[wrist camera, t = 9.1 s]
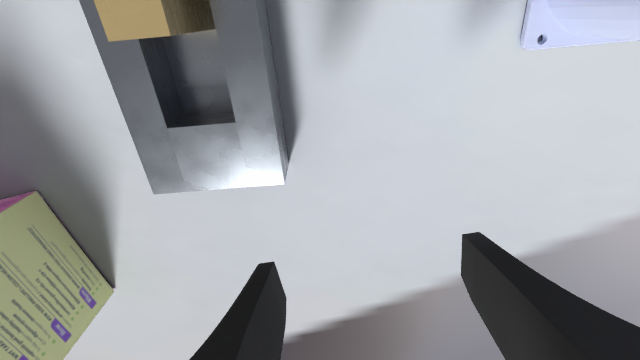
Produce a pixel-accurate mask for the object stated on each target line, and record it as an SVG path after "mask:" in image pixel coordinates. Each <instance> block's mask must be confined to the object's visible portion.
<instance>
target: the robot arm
mask: <svg viewBox="0 0 640 360" xmlns="http://www.w3.org/2000/svg"><path fill="white" fill-rule="evenodd" d="M540 35H542V36H543V39H542V41H541V42H540V43H537V39H538V37H539V36H540ZM634 40H637V41H640V0H528V3H527V8H526V13H525V19H524V24H523V29H522V34H521V39H520V45H521V47H522V48H523V49H527V50H535V49H546V48H557V47H568V46H579V45H590V44H601V43H612V42H623V41H634ZM461 276H462V279H463V281H464V283H465V286H466V288H467V291H468V293H469V295H470V297H471V300H472V302H473V304H474V305H475V307H476V309H477V311H478V313H479V314H480V316H481V318H482V319H483V321H484V323H485V325H486V327H487V328H488V330H489V332H490V334H491V335H492V337H493V339H494V340H495V342H496V344H497V346H498V347H499V349H500V351H501V353H502V354H503V356H504V358H505V360H640V327H637V326H635V325H633V324H631V323H629V322H627V321H624V320H622V319H620V318H618V317H616V316H614V315H612V314H610V313H608V312H606V311H604V310H602V309H600V308H598V307H596V306H594V305H592V304H590V303H589V302H587V301H585V300H583V299H581V298H579V297H577V296H576V295H574V294H572V293H570V292H568V291H567V290H565V289H563V288H562V287H560V286H558V285H557V284H555V283H553V282H552V281H550V280H548V279H547V278H545V277H544V276H542V275H540V274H539V273H537V272H536V271H534V270H533V269H531V268H530V267H528V266H527V265H525V264H524V263H522V262H521V261H519V260H518V259H516V258H515V257H514V256H512V255H511V254H509V253H508V252H506V251H505V250H504V249H502V248H501V247H499V246H498V245H497V244H495V243H494V242H492V241H491V240H490V239H488V238H487V237H486V236H484V235H483V234H481V233H480V232H476V233H469V234H462V261H461ZM285 324H286V296H285V293H284V290H283V287H282V284H281V281H280V278H279V275H278V272H277V269H276V266H275V263H274V262H268V263H261V264H259V265H258V266H257V267H256V269H255V271H254V272H253V274H252V275H251V277H250V279H249V280H248V282H247V283H246V285H245V287H244V288H243V290H242V291H241V293H240V294H239V296H238V297H237V299H236V300H235V302H234V303H233V305H232V306H231V308H230V309H229V311H228V312H227V313H226V315H225V316H224V317H223V319H222V320H221V322H220V323H219V324H218V326H217V327H216V328H215V330H214V331H213V332H212V334H211V335H210V336H209V337H208V339H207V340H206V341H205V342H204V343H203V345H202V346H201V347H200V348H199V349H198V351H197V352H196V353H195V354H194V355H193V356H192V357H191V359H190V360H280V358H281V351H282V345H283V338H284V331H285Z"/></svg>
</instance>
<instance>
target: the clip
mask: <svg viewBox="0 0 640 360" xmlns="http://www.w3.org/2000/svg"><path fill="white" fill-rule="evenodd" d="M94 3H95V5H96V8H97V11H98V14H99V16H100V19H101V22H102V25H103V27H104V30H105V33H106V36H107V38H108V41H109V42H110V41H121V40H132V39H143V38H154V37H164V36H173V35H180V34H187V33H193V32H200V31H206V30H213V29H215V24H214V20H213V15H212V10H211V6H210V1H209V0H94Z"/></svg>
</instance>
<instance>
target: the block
mask: <svg viewBox="0 0 640 360" xmlns="http://www.w3.org/2000/svg"><path fill="white" fill-rule="evenodd" d="M79 1H80V4H81V6H82V9H83V12H84V14H85V17H86V19H87V22H88V25H89V27H90V30H91V32H92V35H93V38H94V40H95V43H96V45H97V48H98V51H99V53H100V56H101V58H102V61H103V64H104V66H105V69H106V71H107V74H108V77H109V79H110V82H111V84H112V87H113V90H114V92H115V95H116V97H117V100H118V103H119V105H120V108H121V110H122V113H123V116H124V118H125V121H126V123H127V126H128V129H129V131H130V134H131V136H132V139H133V141H134V144H135V147H136V149H137V152H138V154H139V157H140V160H141V162H142V165H143V167H144V170H145V173H146V175H147V178H148V180H149V183H150V186H151V188H152V191H153V193H154V194H163V193H176V192H189V191H202V190H215V189H228V188H241V187H254V186H267V185H280V184H285V179H286V174H287V169H288V164H289V161H288V155H287V148H286V141H285V134H284V127H283V120H282V113H281V106H280V99H279V93H278V86H277V79H276V72H275V65H274V58H273V51H272V44H271V38H270V31H269V24H268V17H267V10H266V3H265V0H209V1H210V6H211V10H212V15H213V20H214V24H215V29H213V30H206V31H200V32H193V33H187V34H180V35H173V36H164V37H154V38H143V39H132V40H121V41H110V42H109V41H108V38H107V36H106V33H105V30H104V27H103V25H102V22H101V19H100V16H99V14H98V11H97V8H96V5H95V3H94V0H79Z"/></svg>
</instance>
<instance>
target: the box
mask: <svg viewBox="0 0 640 360" xmlns="http://www.w3.org/2000/svg"><path fill="white" fill-rule="evenodd" d="M113 292H114V290H113V289H112V288H111V286H110V285H109V284H108V283H107V281H106V280H105V279H104V278H103V277H102V275H101V274H100V273H99V271H98V270H97V269H96V268H95V266H94V265H93V264H92V263H91V261H90V260H89V259H88V257H87V256H86V255H85V254H84V252H83V251H82V250H81V248H80V247H79V246H78V245H77V243H76V242H75V241H74V239H73V238H72V237H71V235H70V234H69V233H68V232H67V230H66V229H65V228H64V226H63V225H62V224H61V222H60V221H59V220H58V218H57V217H56V216H55V215H54V213H53V212H52V211H51V209H50V208H49V207H48V205H47V204H46V203H45V201H44V200H43V197H42V196H41V195H40V194H39V193H38V192H37V191H32V192H29V193H25V194H21V195H17V196H13V197H9V198H5V199H1V200H0V360H63V359H64V358H65V356H66V355H67V354H68V352H69V351H70V350H71V348H72V347H73V346H74V344H75V343H76V342H77V340H78V339H79V338H80V336H81V335H82V334H83V332H84V331H85V330H86V328H87V327H88V326H89V324H90V323H91V322H92V320H93V319H94V318H95V316H96V315H97V314H98V312H99V311H100V310H101V308H102V307H103V306H104V304H105V303H106V302H107V300H108V299H109V298H110V296H111V295H112V294H113Z"/></svg>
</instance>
